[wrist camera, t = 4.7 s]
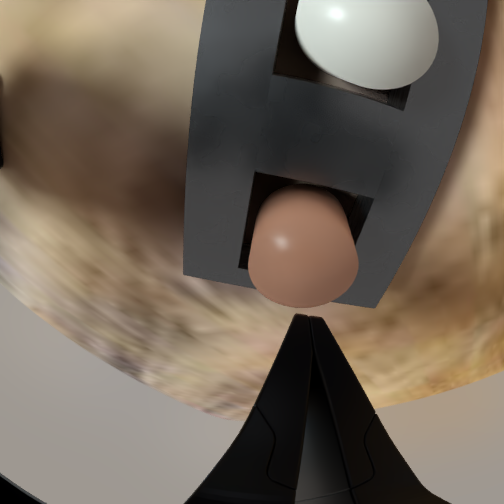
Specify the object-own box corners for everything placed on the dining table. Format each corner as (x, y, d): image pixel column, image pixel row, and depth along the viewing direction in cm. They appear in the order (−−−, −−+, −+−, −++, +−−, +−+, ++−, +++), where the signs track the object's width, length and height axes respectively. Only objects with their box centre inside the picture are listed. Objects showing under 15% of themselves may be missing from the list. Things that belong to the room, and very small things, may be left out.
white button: (285, 65, 9) (286, 67, 7) (303, -28, 6) (309, -55, 4) (389, 94, 9) (422, 109, 7) (409, 6, 7) (446, -5, 4)
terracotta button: (249, 252, 14) (241, 298, 12) (264, 175, 12) (257, 211, 9) (330, 267, 14) (336, 314, 12) (358, 195, 12) (375, 235, 9)
